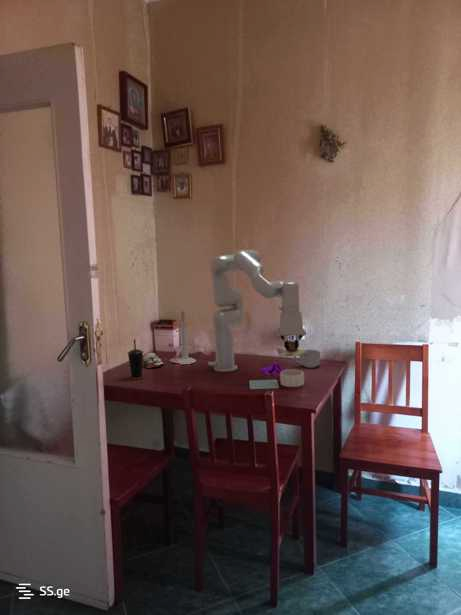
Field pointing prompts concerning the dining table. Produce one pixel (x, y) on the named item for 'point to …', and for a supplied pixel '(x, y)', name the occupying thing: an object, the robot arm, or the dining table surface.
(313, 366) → the teacup
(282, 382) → the bowl
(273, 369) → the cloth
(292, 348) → the lid
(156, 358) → the skull
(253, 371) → the dining table surface
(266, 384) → the mat
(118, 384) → the dining table surface
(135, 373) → the drinking cup
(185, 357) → the candlestick
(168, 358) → the dining table surface
